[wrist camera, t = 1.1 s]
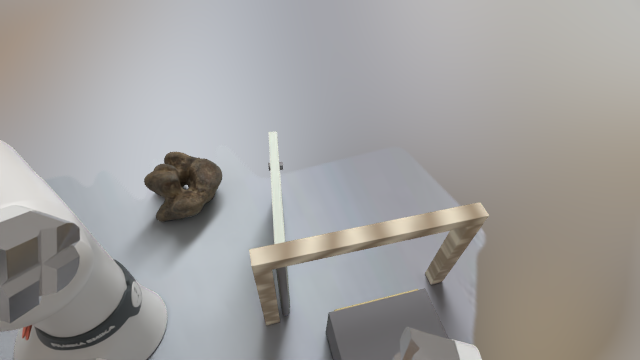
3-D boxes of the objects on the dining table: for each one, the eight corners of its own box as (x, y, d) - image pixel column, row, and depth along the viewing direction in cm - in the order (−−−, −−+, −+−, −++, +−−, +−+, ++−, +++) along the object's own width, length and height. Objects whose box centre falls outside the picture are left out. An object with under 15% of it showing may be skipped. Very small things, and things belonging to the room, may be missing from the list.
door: (294, 315, 60) (291, 267, 47) (278, 316, 60) (270, 269, 47) (284, 192, 78) (280, 131, 64) (271, 193, 78) (265, 132, 64)
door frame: (266, 325, 60) (251, 266, 43) (264, 311, 61) (249, 249, 44) (442, 281, 66) (489, 215, 49) (436, 270, 67) (479, 202, 51)
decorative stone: (231, 199, 70) (149, 201, 62) (219, 230, 77) (143, 235, 69) (217, 143, 79) (142, 139, 71) (207, 175, 86) (138, 175, 78)
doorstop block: (341, 390, 54) (346, 377, 47) (325, 329, 60) (328, 310, 53) (434, 362, 57) (452, 346, 50) (411, 307, 63) (424, 286, 56)
